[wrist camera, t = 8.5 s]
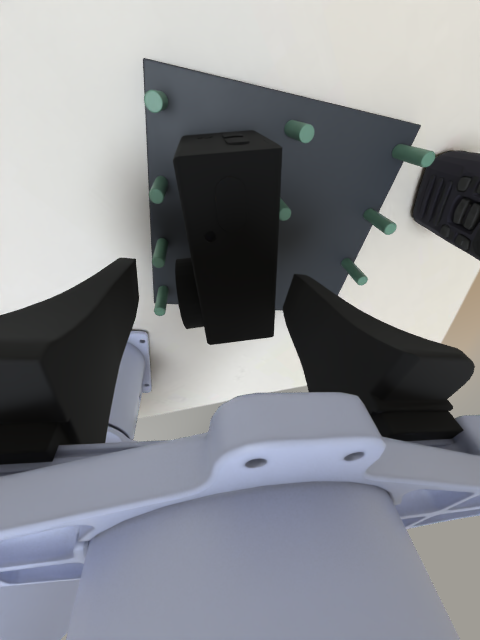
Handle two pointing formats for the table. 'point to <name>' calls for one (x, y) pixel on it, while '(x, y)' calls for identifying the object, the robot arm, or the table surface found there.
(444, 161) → the two-way radio
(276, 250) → the digital camera
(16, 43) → the table surface
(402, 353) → the robot arm
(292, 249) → the rack
